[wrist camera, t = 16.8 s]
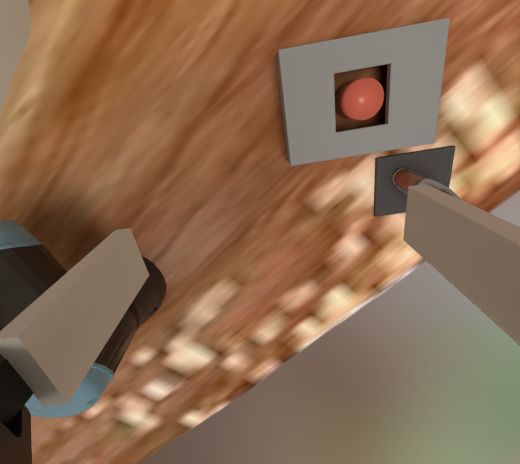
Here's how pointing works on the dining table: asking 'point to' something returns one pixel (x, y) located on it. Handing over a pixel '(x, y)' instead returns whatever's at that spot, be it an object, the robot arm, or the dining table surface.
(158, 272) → the robot arm
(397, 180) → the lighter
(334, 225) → the dining table surface
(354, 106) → the red dome button
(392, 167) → the mat
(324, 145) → the button panel
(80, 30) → the dining table surface
